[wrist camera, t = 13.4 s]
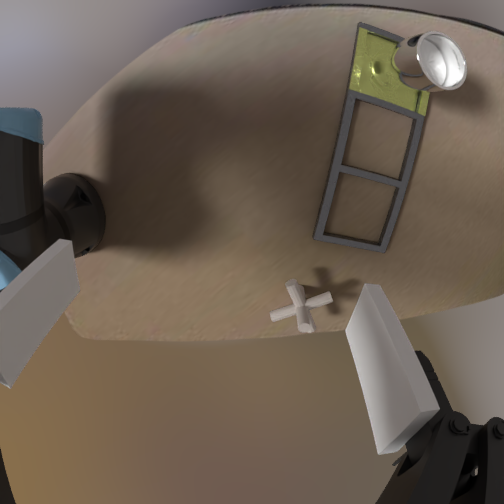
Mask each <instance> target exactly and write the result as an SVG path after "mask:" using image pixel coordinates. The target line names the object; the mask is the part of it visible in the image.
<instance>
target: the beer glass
mask: <svg viewBox="0 0 504 504" xmlns="http://www.w3.org/2000/svg"><path fill="white" fill-rule="evenodd" d="M371 70H372V74H373V77H374V79H375V80H376V82H377V83H378V84H379V85H380V86H382V87H383V88H385V89H388V90H392V91H396V90H400V89H402V88H404V87H406V88H409V89H413V90H417V91H422V92H439V91H446V90H454V89H457V88H459V87H460V86H461V85H462V84H463V83H464V81H465V79H466V75H467V63H466V59H465V56H464V54H463V52H462V50H461V48H460V47H459V45H458V44H457V43H456V42H455V41H454V40H453V39H452V38H451V37H449V36H448V35H446V34H444V33H442V32H438V31H429V32H426V33H421V34H417V35H414V36H411V37H408V38H406V39H404V40H403V41H401V42H400V43H399V44H397V45H396V46H395V47H394V48H393V49H392V51H391V52H382V53H379V54H378V55H376V56H375V58H374V59H373V61H372V65H371Z"/></svg>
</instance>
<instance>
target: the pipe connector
mask: <svg viewBox="0 0 504 504" xmlns="http://www.w3.org/2000/svg"><path fill="white" fill-rule="evenodd" d="M285 286H286V288H287V290H288V292H289V294H290V296H291V299H292V301H293V303H294V304H291V305H288V306H285V307H282V308H279V309H276V310H273V311H270V317H271V319H272V321H273V322H275V321H278V320H281V319H284V318H287V317H290V316H293V315H297V324H298V330H299V331H300V332H309V333H310V332H313V331H315V329H316V325H315V323H314V320H313V318H312V316H311V313H310V311H309V310H311V309H314V308H317V307H320V306H323V305H326V304H329V303H331V302H333V299H332V296H331V293H330V291H328V292H325V293H322V294H320V295H317V296H314V297H311V298H308V299H306V297H305V292H304V287H303V286H302V285H298V283H297V281H296V279H290V280H288V281H287V282H286V284H285Z"/></svg>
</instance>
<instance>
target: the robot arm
mask: <svg viewBox="0 0 504 504" xmlns="http://www.w3.org/2000/svg"><path fill="white" fill-rule="evenodd" d="M43 145H44V141H43V136H42V116H41V114H40V112H39V111H37V110H36V109H33V108H0V383H1V384H3V385H5V386H7V387H9V388H11V387H12V385H13V384H14V382H15V381H16V379H17V378H18V376H19V375H20V373H21V372H22V370H23V368H24V367H25V365H26V364H27V362H28V361H29V359H30V358H31V356H32V355H33V353H34V352H35V350H36V349H37V348H38V346H39V345H40V343H41V342H42V340H43V339H44V338H45V336H46V335H47V333H48V332H49V331H50V329H51V328H52V326H53V325H54V324H55V322H56V321H57V320H58V318H59V317H60V316H61V315H62V313H63V312H64V311H65V309H66V308H67V307H68V305H69V304H70V303H71V302H72V300H73V299H74V298H75V297H76V295H77V294H78V293H79V292H80V286H79V281H78V276H77V270H76V265H75V259H74V258H77V257H81V256H83V255H86V254H87V253H89V252H90V251H91V250H92V249H94V248H95V247H96V246H97V245H98V243H99V242H100V241H101V239H102V237H103V234H104V230H105V212H104V208H103V205H102V202H101V200H100V197H99V196H98V194H97V192H96V191H95V189H94V188H93V187H92V186H91V185H90V184H89V183H88V182H87V181H86V180H85V179H83V178H81V177H80V176H77V175H74V174H61V175H59V176H56V177H54V178H52V179H50V180H49V181H47V182H46V183H45V184H44V185H43ZM345 331H346V335H347V338H348V341H349V344H350V348H351V351H352V354H353V358H354V362H355V365H356V369H357V372H358V376H359V379H360V383H361V387H362V390H363V394H364V398H365V402H366V406H367V410H368V413H369V418H370V422H371V425H372V429H373V434H374V439H375V443H376V447H377V451H378V454H386V453H393V452H397V451H398V450H399V449H400V448H401V447H402V446H404V444H405V445H406V448H407V452H406V453H404V454H403V455H402V456H401V457H400V458H398V459H397V460H396V461H395V462H394V463H393V464H392V465H393V466H395V465H396V464H398V463H399V464H398V466H397V468H396V470H395V472H394V473H393V475H392V477H391V479H390V481H389V482H388V484H387V486H386V487H385V489H384V491H383V493H382V494H381V496H380V497H379V499H378V500H377V502H376V503H375V504H504V420H503V419H501V418H499V417H493V418H492V419H490V420H489V421H488V422H487V423H486V424H485V425H476V424H470V422H469V420H468V419H467V417H466V416H464V415H463V414H461V413H459V412H456V411H453V410H452V408H451V406H450V403H449V401H448V399H447V397H446V395H445V392H444V390H443V388H442V386H441V383H440V382H439V381H438V377H437V375H436V373H435V372H434V369H433V367H432V365H431V363H430V361H429V359H428V358H427V357H426V356H425V355H424V354H423V353H422V352H421V351H414V349H413V347H412V345H411V343H410V341H409V339H408V337H407V335H406V333H405V331H404V329H403V327H402V326H401V323H400V321H399V319H398V317H397V316H396V314H395V312H394V310H393V308H392V306H391V304H390V302H389V301H388V299H387V297H386V295H385V293H384V291H383V290H382V288H381V286H380V285H376V284H368V283H365V284H364V286H363V289H362V291H361V294H360V297H359V299H358V302H357V304H356V307H355V309H354V311H353V314H352V316H351V319H350V321H349V323H348V326H347V328H346V330H345ZM476 468H478V474H477V475H476V476H475V469H476ZM0 504H16V503H15V500H14V497H13V494H12V491H11V488H10V485H9V481H8V477H7V474H6V470H5V466H4V462H3V458H2V453H1V449H0Z"/></svg>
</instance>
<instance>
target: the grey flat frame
mask: <svg viewBox="0 0 504 504" xmlns="http://www.w3.org/2000/svg"><path fill="white" fill-rule="evenodd" d="M377 36H378V37H377ZM380 37H381V38H380ZM385 39H386V40H385ZM403 40H404V38H402V37H400V36H397V35H395V34H392V33H390V32H387V31H385V30H382V29H379V28H377V27H374V26H371V25H368V24H365V23H362V22H359V23H358V26H357V32H356V39H355V45H354V51H353V57H352V63H351V68H350V74H349V79H348V85H347V90H346V95H345V100H344V105H343V110H342V115H341V120H340V125H339V129H338V134H337V138H336V143H335V147H334V152H333V156H332V161H331V165H330V169H329V173H328V178H327V182H326V186H325V190H324V194H323V198H322V202H321V206H320V210H319V214H318V217H317V221H316V225H315V229H314V233H313V239H314V240H319V241H324V242H330V243H335V244H340V245H346V246H351V247H356V248H361V249H366V250H371V251H376V252H382V253H385V251H386V248H387V245H388V243H389V240H390V237H391V234H392V231H393V229H394V226H395V223H396V220H397V217H398V214H399V211H400V208H401V204H402V201H403V198H404V195H405V191H406V188H407V185H408V181H409V178H410V174H411V171H412V167H413V163H414V159H415V155H416V152H417V147H418V143H419V139H420V135H421V130H422V126H423V121H424V116H425V115H426V110H427V104H428V99H429V93H430V92H422V91H417V90H413V89H409V88H406V87H404V88H402V89H400V90H396V91H392V90H388V89H385V88H383V87H382V86H380V85H379V84H378V83H377V82H376V80H375V79H374V77H373V74H372V70H371V65H372V61H373V59H374V58H375V56H376V55H378V54H379V53H382V52H391V51H392V49H393V48H394V47H395V46H396V45H397V44H399V43H400V42H401V41H403ZM393 42H394V43H393ZM355 99H357V100H361V101H364V102H367V103H370V104H373V105H376V106H379V107H382V108H385V109H388V110H391V111H394V112H396V113H399V114H402V115H404V116H407V117H410V118H412V119H413V123H412V127H411V132H410V136H409V140H408V145H407V149H406V153H405V157H404V161H403V164H402V168H401V172H400V175H399V179H394V178H391V177H388V176H384V175H381V174H377V173H374V172H370V171H366V170H363V169H359V168H355V167H351V166H347V165H343V164H341V163H342V159H343V154H344V150H345V146H346V141H347V137H348V132H349V128H350V123H351V118H352V114H353V109H354V104H355ZM339 172H343V173H347V174H351V175H355V176H359V177H363V178H366V179H370V180H374V181H378V182H381V183H385V184H388V185H392V186H395V187H396V189H395V193H394V196H393V199H392V203H391V206H390V209H389V212H388V215H387V218H386V221H385V224H384V227H383V230H382V233H381V236H380V239H379V242H378V243H375V242H370V241H365V240H360V239H355V238H350V237H345V236H340V235H335V234H330V233H325V232H324V229H325V225H326V221H327V218H328V214H329V210H330V206H331V203H332V199H333V195H334V191H335V187H336V183H337V179H338V175H339Z"/></svg>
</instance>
